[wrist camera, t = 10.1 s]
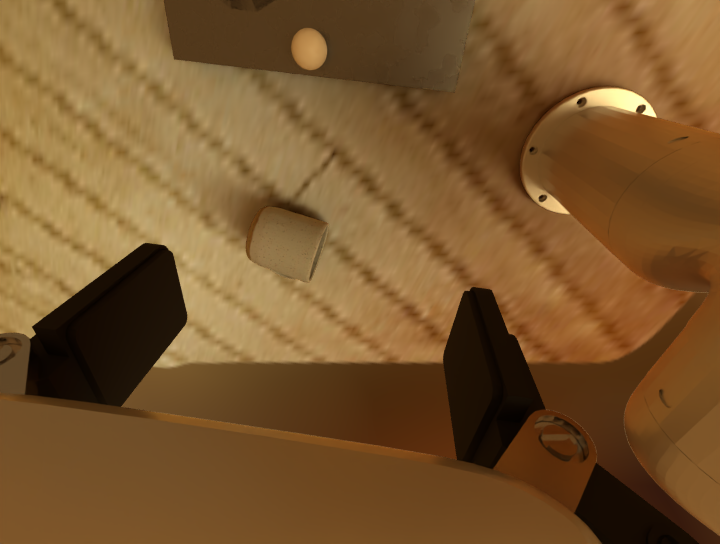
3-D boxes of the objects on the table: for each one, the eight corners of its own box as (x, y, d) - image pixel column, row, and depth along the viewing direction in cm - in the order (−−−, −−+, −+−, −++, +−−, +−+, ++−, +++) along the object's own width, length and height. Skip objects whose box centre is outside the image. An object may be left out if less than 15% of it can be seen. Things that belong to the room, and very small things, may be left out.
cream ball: (330, 30, 29) (324, 29, 27) (329, 71, 31) (322, 72, 28) (296, 26, 29) (286, 24, 27) (296, 67, 31) (287, 68, 29)
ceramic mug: (268, 193, 42) (243, 220, 35) (333, 212, 42) (320, 242, 36) (259, 263, 48) (237, 297, 41) (316, 279, 48) (303, 315, 42)
